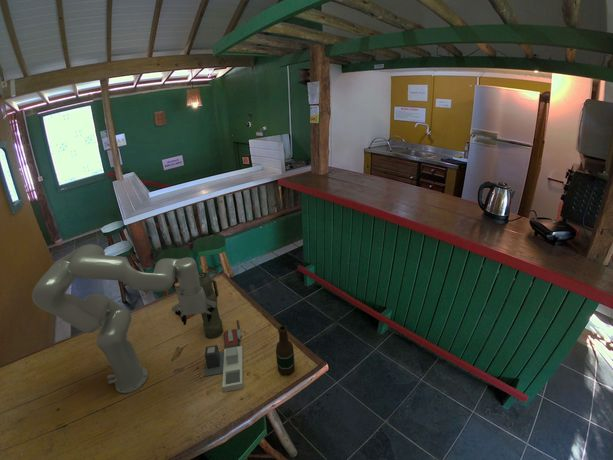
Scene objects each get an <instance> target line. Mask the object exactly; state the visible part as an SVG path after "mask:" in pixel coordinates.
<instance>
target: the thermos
mask: <svg viewBox="0 0 613 460" xmlns="http://www.w3.org/2000/svg"><path fill="white" fill-rule="evenodd" d="M198 275H199V280H200V285H201V287H202V288H203V290H204V292H205V295H206V298H207V300H211V301H214V302H216V307H215V308H214V310H213V311H212V312H211V314H212V319H210V322H208V319H207V313H206V312H205V313H200V315H201V319H202V328H203V331H204V333H205V337H206V338H207V339H210V340H213V339H217V338H220V336H222V334H224V329H223V322H222V318H220V313H219V309H218V297H219V296H220V295H219V290H218V285H217V281H216V280H215V279H214V278H211V276H210V275H209V273H208V272H204V271H201V272H198ZM207 306H209V307H211V306H212V305H209V304H208V305H207Z"/></svg>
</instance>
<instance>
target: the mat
mask: <svg viewBox="0 0 613 460" xmlns="http://www.w3.org/2000/svg"><path fill="white" fill-rule="evenodd" d="M219 354H220V367H215V368H209V369H208V367H207V363H206V362H205V364H204V365H205V366H204V372H203V373H204V375H203V377H204V378H207V377H213V376H218V375H223V366H224V350H222V351H219Z"/></svg>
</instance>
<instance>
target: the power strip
mask: <svg viewBox="0 0 613 460" xmlns="http://www.w3.org/2000/svg"><path fill="white" fill-rule="evenodd" d="M223 351H224V366H223V374H222V385H221V386H222V391H223V392H224V393H225V392H226V393H227V392H230V391H236V390H240V389H241V390H242V389H244V353H243V352H244V350H243V346H242V345H240V346H238V347H231V348H226V349H225V348H224V350H223Z"/></svg>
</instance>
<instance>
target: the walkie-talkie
mask: <svg viewBox="0 0 613 460" xmlns="http://www.w3.org/2000/svg"><path fill="white" fill-rule="evenodd" d="M236 326H237V329H236V328H235V329H233V328H232V329H229V330H228V329H227V330H225V331H223V333H222V334H223V343H224V349H226V348H231V347H238V346H241V344H240V342H241V340H242V338H243V335H242V334H243V333H242V329H241V328H240V322H239V320H238V319H236Z"/></svg>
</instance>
